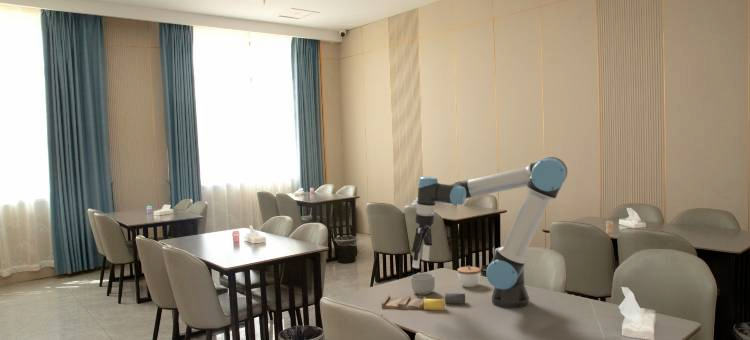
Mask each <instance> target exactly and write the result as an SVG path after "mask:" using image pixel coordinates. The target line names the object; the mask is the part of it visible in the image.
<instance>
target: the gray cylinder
mask: <svg viewBox="0 0 750 340" xmlns="http://www.w3.org/2000/svg"><path fill="white" fill-rule="evenodd" d="M444 301H445V305H465V304H466V293H456V292H455V293H453V292H445V295H444Z"/></svg>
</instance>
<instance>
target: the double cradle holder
mask: <svg viewBox="0 0 750 340" xmlns="http://www.w3.org/2000/svg"><path fill="white" fill-rule="evenodd" d="M424 299H427V296H423V298H411V296H410V295H409V296H408V295H407V296H406V295H404V296H402V298H401V297H398V298H397V297H391V295H387V296H386V297H385V299H384V300H383V301H382V302H381V309H394V310H395V309H396V310H414V311H415V310H417V311H418V310H419V311H421V310H424Z"/></svg>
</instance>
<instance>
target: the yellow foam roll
mask: <svg viewBox="0 0 750 340" xmlns="http://www.w3.org/2000/svg"><path fill="white" fill-rule="evenodd" d="M445 306H446V303H445V298H444V299H442V298H441V299H440V298H437V299H435V298H426V299H424V307H423V310H425V311H445V308H446V307H445Z"/></svg>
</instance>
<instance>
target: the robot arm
mask: <svg viewBox="0 0 750 340" xmlns="http://www.w3.org/2000/svg"><path fill="white" fill-rule="evenodd" d="M567 176H568V167H567V165H566V163H565V162H564V161H563V160H562V159H560V158H558V157H556V156H549V157H545V158H542V159H540V160H538V161H536V162H531V163H529V164H528V165H527V166H524V167H521V168H515V169H512V170H511V169H510V170H508V171H504V172H503V171H502V172H498V173H493V174H488V175H485V176H480V177H476V178H470V179H467V180H461V181H456V182H454V183H451V184H446V183H445V184H444V183H439V182H438V178H436V177H432V176H422V177H420V178H419V181H418V187H417V188H418V189H417V202H416V205H415V208H416V210H415V211H416V214H415V223H416V224H418V227H416V228H415V236H414V239H413V244H412V249H411V252H412V253H413V254H412V264H411V265H412V267H411V268H413V269H420V262H421V260H422V261H427V262H429V260H430V250H431V249H430V248H431V246H432V245H433V243H432V242H433V238H432V225H434V221H435V216H434V215H435V211H436V202H437V203H445V204H451V205H456V206H457V205H458V206H459V205H460V206H462V205H464V204H465V202H466V199H471V198H474V197H478V196H479V197H480V196H486V195H490V194H495V193H500V192H505V191H510V190H513V189H514V190H515V189H520V188H524V187H526V190H527V193H526V195H525V197H524V200H523V202H522V204H521V206H520V208H519V210H518V213H517V214H516V217H515V219H514V221H513V223H512V225H511V228H510V230H509V232H508V233H507V237H506V238H505V241H504V244H502V246H499V247H497V248H495V249H494V255H493V258H492V259H491V262H489V264H488V266H486V272H485V273H486V274H485V276H486V278H487V281H488V282H489V284H491V286H492V287H494V288H493V292H492V295H491V303H492V304H493V305H494V306H497V307H500V308H507V309H517V308H518V309H519V308H523V307H524V308H525V307H527V306H529V305H530V297H529V294H528V291H527V288H526V285H525V264H526V259H525V254H526V252H527V250H528V249H529V246H530V244H531V241H532V239H533V237H534V235H535V232H536V231H537V228H538V227H539V224H540V222H541V219H542V218H543V215H544V214H545V212H546V209H547V207H548V205H549V203H550V202H551V201H553V200H556V198H557V197H558V194H559V192H560V190H561V187H562V186H563V183H564V182H565V180H566V179H567ZM423 243H424V244H423ZM422 246H423V247H422ZM421 249H422V257H421ZM420 259H421V260H420Z"/></svg>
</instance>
